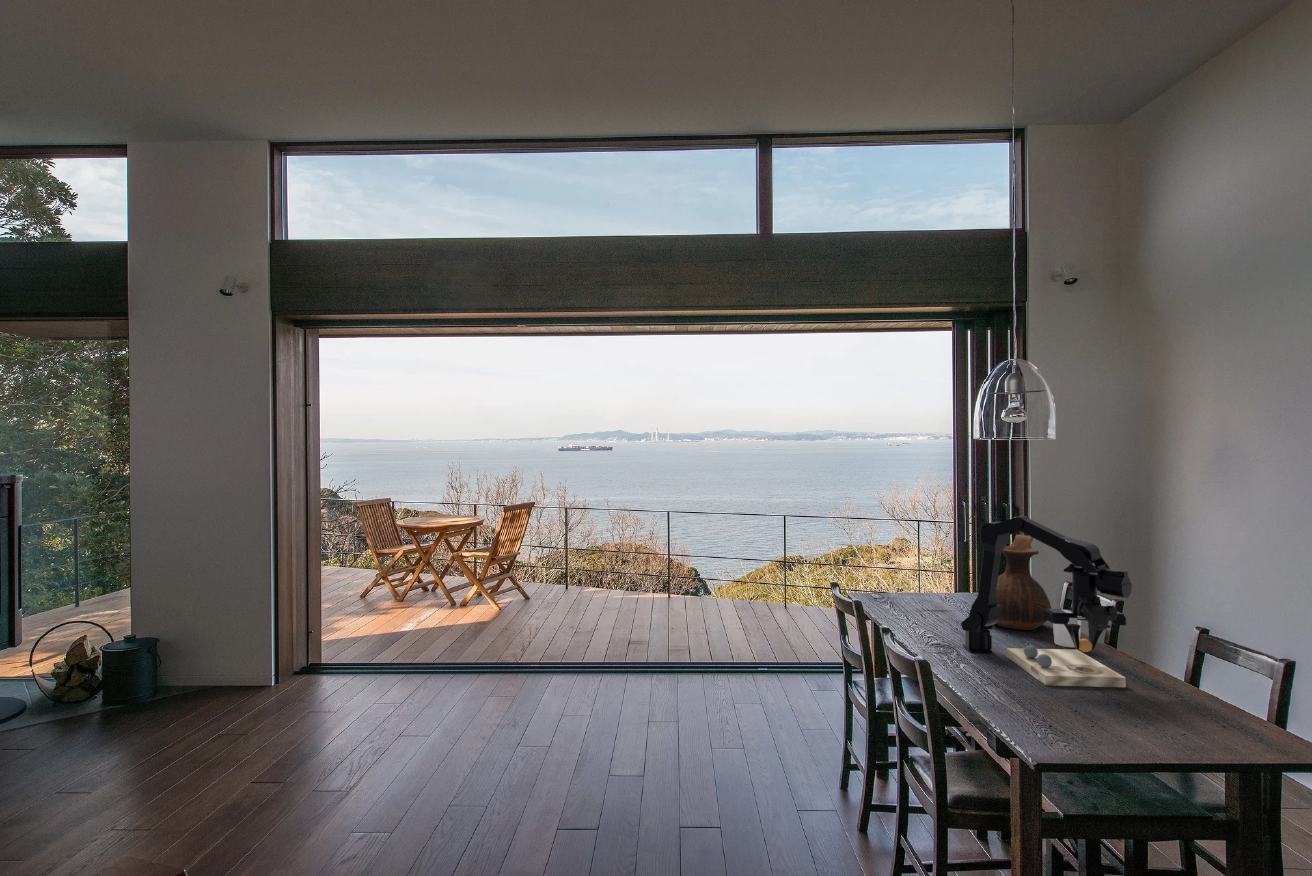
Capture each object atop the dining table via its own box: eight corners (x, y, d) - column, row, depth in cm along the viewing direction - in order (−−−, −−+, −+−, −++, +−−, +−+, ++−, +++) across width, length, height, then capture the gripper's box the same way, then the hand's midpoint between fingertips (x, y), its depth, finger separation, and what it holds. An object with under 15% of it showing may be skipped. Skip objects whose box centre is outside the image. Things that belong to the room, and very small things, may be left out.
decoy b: (1040, 669, 187) (1040, 656, 187) (1034, 664, 190) (1034, 652, 190) (1054, 669, 187) (1054, 656, 187) (1048, 665, 190) (1048, 652, 190)
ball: (1081, 653, 185) (1081, 640, 185) (1074, 649, 189) (1074, 636, 189) (1094, 653, 185) (1094, 640, 185) (1087, 649, 188) (1087, 636, 188)
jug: (1067, 632, 231) (1067, 542, 231) (1008, 635, 228) (1008, 543, 228) (1022, 615, 253) (1022, 533, 253) (968, 618, 249) (968, 534, 249)
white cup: (1073, 641, 221) (1073, 609, 221) (1086, 648, 213) (1086, 616, 213) (1047, 640, 222) (1047, 609, 222) (1059, 647, 214) (1059, 615, 214)
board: (1045, 685, 182) (1045, 675, 182) (1006, 656, 206) (1006, 648, 206) (1125, 687, 180) (1125, 677, 180) (1076, 658, 204) (1076, 649, 204)
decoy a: (1027, 659, 195) (1027, 647, 195) (1021, 655, 198) (1021, 643, 198) (1040, 660, 195) (1040, 647, 195) (1034, 656, 198) (1034, 643, 198)
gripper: (1063, 597, 179) (1063, 657, 179) (1139, 598, 178) (1139, 659, 178) (1043, 587, 191) (1042, 644, 191) (1114, 588, 189) (1114, 646, 189)
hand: (1084, 648), depth 187 cm, fingers closed on ball, 3 cm apart
